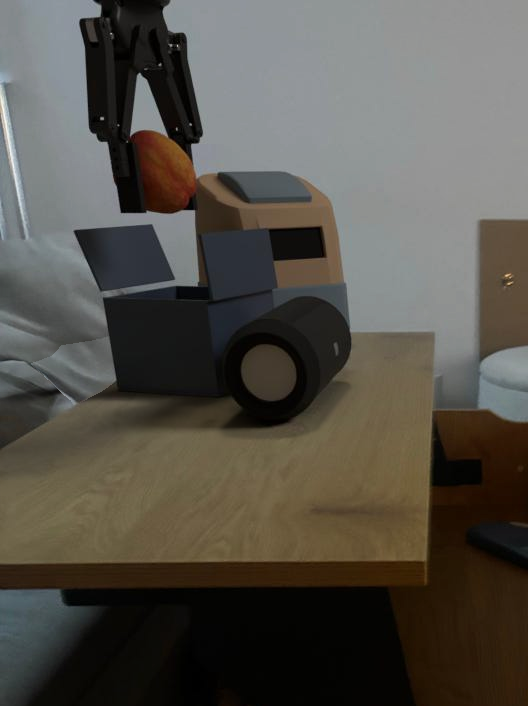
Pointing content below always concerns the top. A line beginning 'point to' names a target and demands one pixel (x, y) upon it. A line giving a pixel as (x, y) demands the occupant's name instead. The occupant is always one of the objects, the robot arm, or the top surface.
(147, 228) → the flap
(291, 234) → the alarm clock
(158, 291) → the carton
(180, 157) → the fruit
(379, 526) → the top surface
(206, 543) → the top surface
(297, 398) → the portable speaker
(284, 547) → the top surface
